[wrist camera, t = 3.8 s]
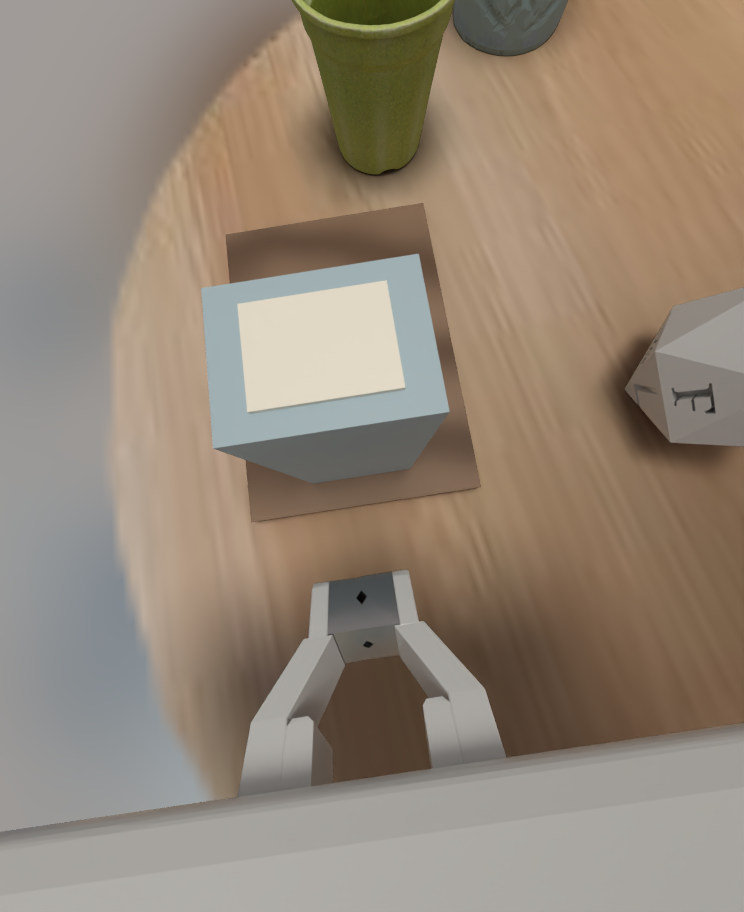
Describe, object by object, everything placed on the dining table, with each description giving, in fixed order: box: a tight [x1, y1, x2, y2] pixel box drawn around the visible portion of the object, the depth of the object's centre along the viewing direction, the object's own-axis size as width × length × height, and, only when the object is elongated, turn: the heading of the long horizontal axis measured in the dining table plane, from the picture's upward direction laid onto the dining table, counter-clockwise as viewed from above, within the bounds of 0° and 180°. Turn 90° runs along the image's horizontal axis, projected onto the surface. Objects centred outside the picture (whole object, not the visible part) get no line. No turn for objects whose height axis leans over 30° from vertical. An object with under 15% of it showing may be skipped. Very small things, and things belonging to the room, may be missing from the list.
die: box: [624, 288, 744, 447], centre depth 18 cm, size 8×9×10 cm
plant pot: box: [292, 0, 455, 174], centre depth 21 cm, size 9×9×9 cm
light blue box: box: [201, 254, 450, 484], centre depth 14 cm, size 4×6×12 cm
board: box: [226, 203, 481, 522], centre depth 22 cm, size 20×14×1 cm
